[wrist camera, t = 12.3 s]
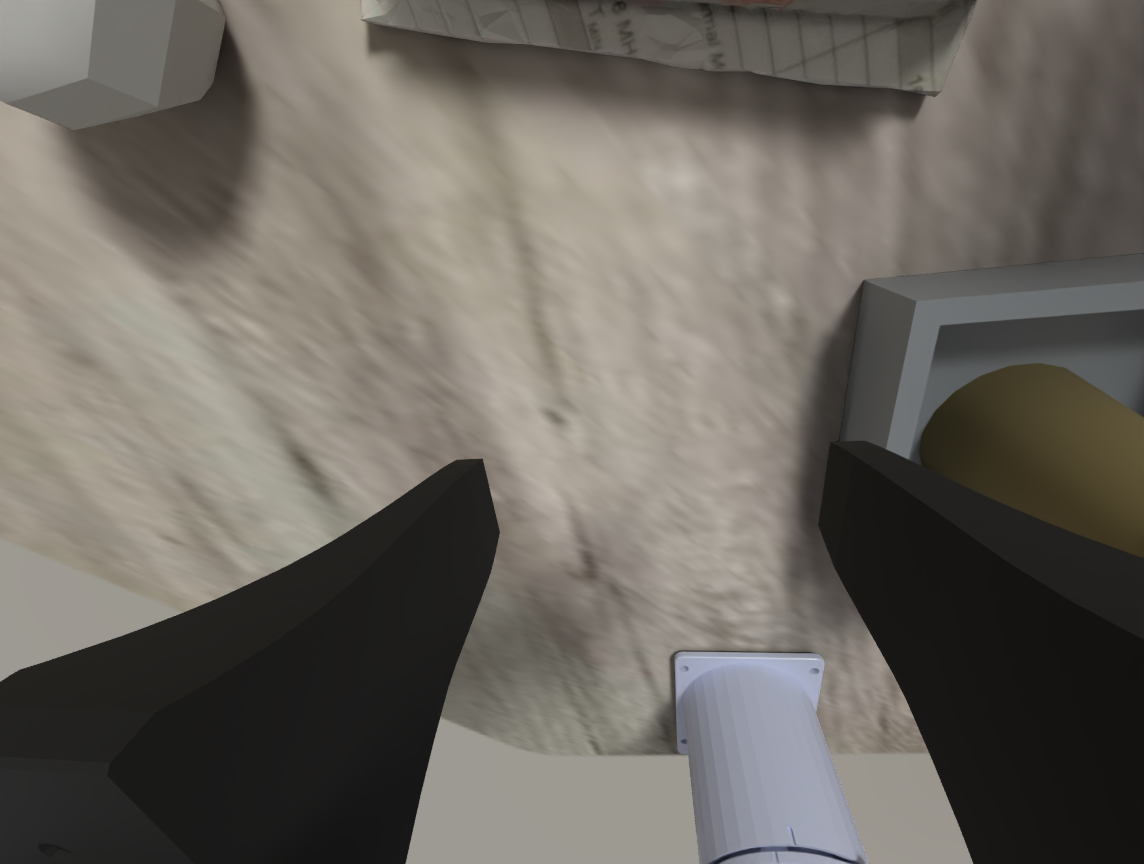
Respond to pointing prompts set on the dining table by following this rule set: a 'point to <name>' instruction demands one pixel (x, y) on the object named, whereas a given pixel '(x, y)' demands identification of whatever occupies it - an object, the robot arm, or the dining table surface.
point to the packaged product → (719, 33)
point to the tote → (989, 338)
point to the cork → (1045, 450)
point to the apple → (106, 57)
